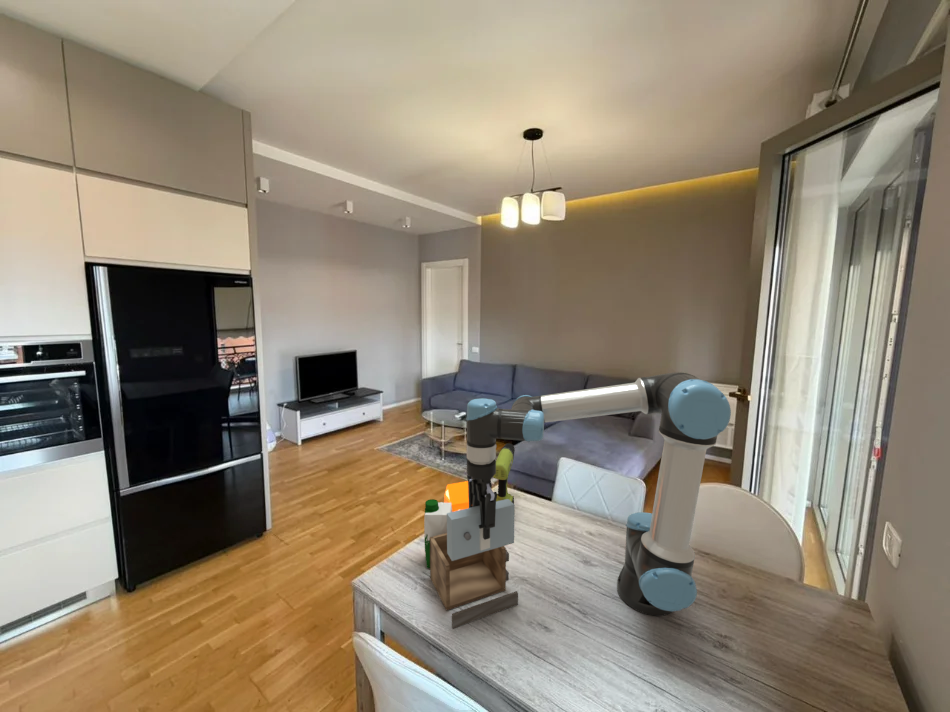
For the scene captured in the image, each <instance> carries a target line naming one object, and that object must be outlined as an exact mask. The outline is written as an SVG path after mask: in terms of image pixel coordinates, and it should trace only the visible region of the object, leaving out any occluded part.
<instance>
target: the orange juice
mask: <svg viewBox="0 0 950 712" xmlns="http://www.w3.org/2000/svg"><path fill="white" fill-rule="evenodd" d="M443 496H444V497H443V498H444V500H443V502H444V503H451V504H452V512H454V511H458V510H462V509H467V508H469V497H468V480H467V481H466V480H465V481H460V482H454V483H448V484H447V485H446V488H445V492H444V495H443Z"/></svg>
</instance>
